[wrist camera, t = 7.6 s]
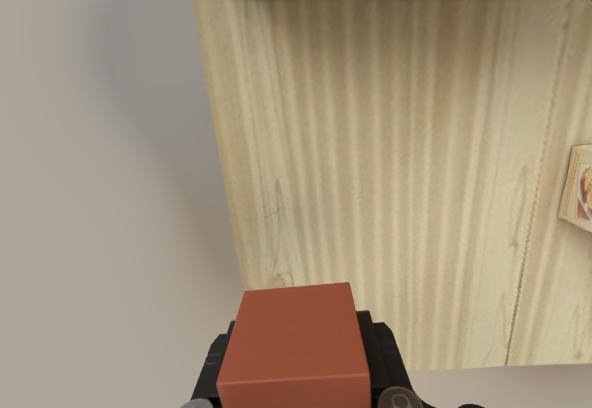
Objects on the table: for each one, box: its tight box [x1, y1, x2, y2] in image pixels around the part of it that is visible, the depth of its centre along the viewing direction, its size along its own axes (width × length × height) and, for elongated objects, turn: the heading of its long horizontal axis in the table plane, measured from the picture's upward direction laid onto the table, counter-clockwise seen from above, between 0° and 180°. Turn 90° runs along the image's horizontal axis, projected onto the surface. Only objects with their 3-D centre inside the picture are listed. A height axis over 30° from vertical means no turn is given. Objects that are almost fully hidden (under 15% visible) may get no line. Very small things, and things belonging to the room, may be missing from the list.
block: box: [216, 282, 372, 408], centre depth 11 cm, size 4×4×4 cm
